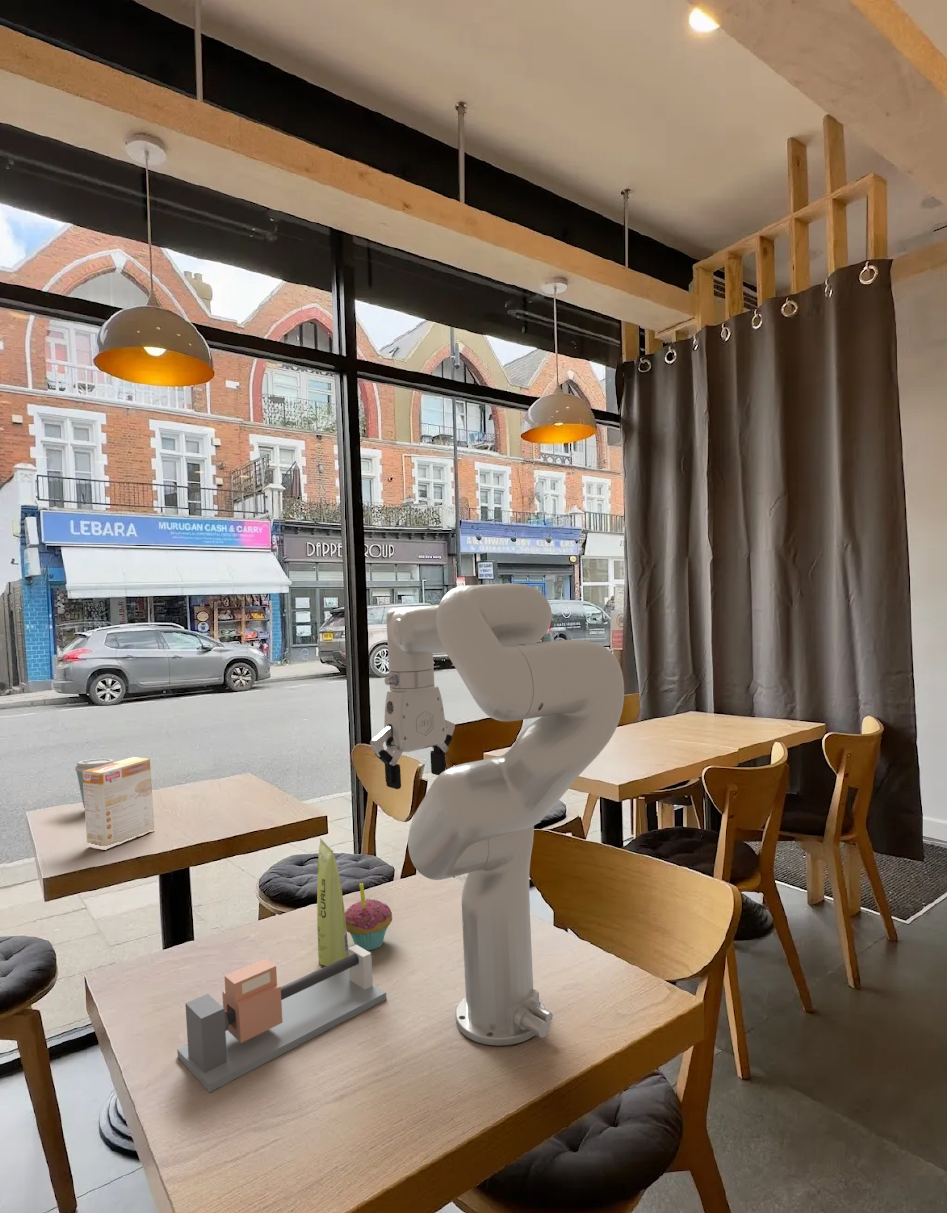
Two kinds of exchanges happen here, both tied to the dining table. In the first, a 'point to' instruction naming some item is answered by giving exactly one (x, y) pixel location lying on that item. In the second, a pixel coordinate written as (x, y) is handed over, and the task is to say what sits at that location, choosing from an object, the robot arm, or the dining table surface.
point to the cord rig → (304, 1016)
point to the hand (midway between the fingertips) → (416, 781)
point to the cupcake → (368, 922)
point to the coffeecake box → (118, 801)
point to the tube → (330, 909)
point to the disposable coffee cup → (86, 766)
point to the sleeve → (253, 999)
